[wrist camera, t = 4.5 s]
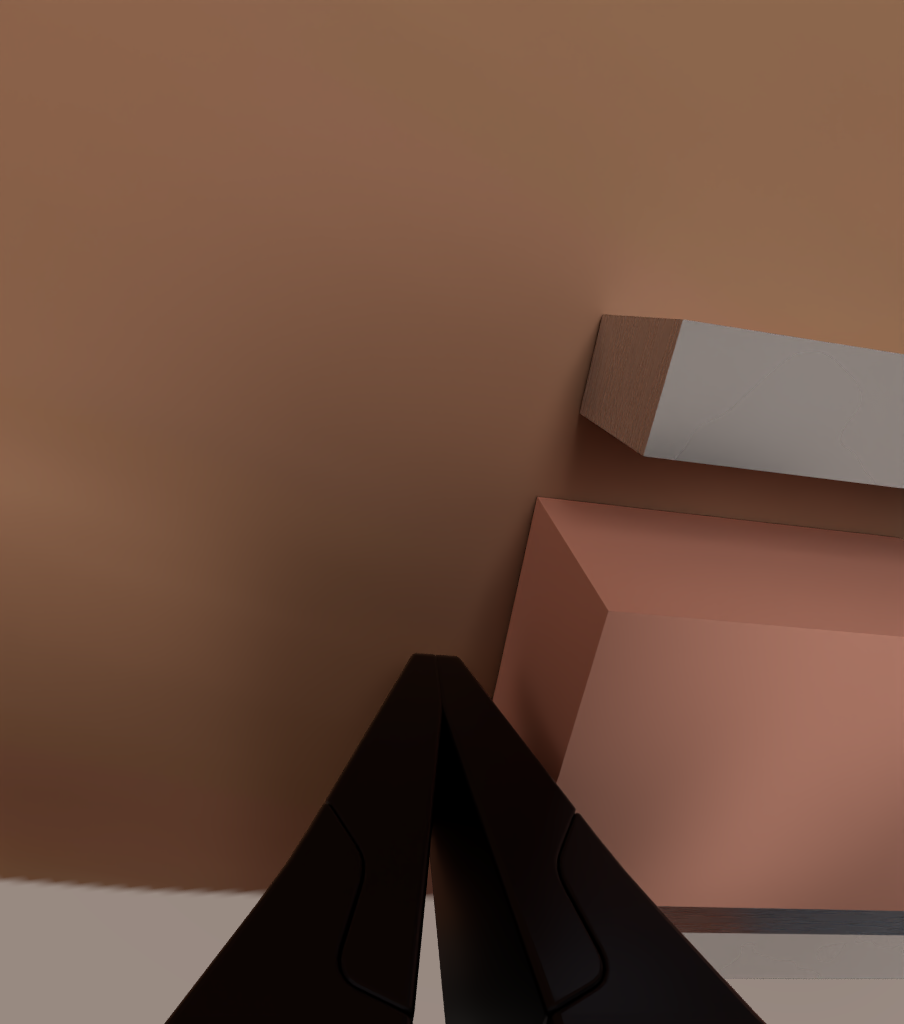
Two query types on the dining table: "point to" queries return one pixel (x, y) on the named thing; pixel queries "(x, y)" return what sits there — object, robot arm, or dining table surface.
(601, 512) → the block
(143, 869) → the dining table surface
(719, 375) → the slot rails
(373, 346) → the dining table surface
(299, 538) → the dining table surface
